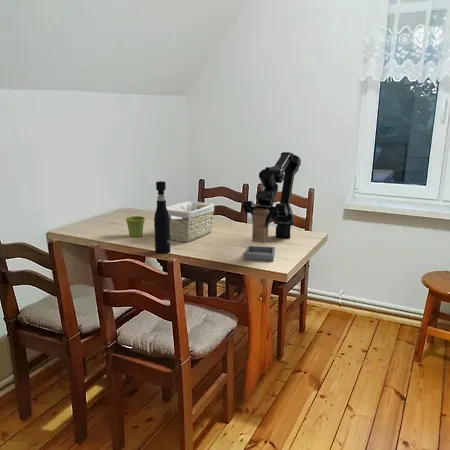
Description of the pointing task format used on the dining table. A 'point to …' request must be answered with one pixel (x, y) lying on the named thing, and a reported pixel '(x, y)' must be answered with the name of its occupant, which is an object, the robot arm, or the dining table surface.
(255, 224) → the walnut block
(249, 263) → the dining table surface
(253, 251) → the tray
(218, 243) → the dining table surface
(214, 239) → the dining table surface
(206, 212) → the storage basket
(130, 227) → the plant pot
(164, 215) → the black bottle
